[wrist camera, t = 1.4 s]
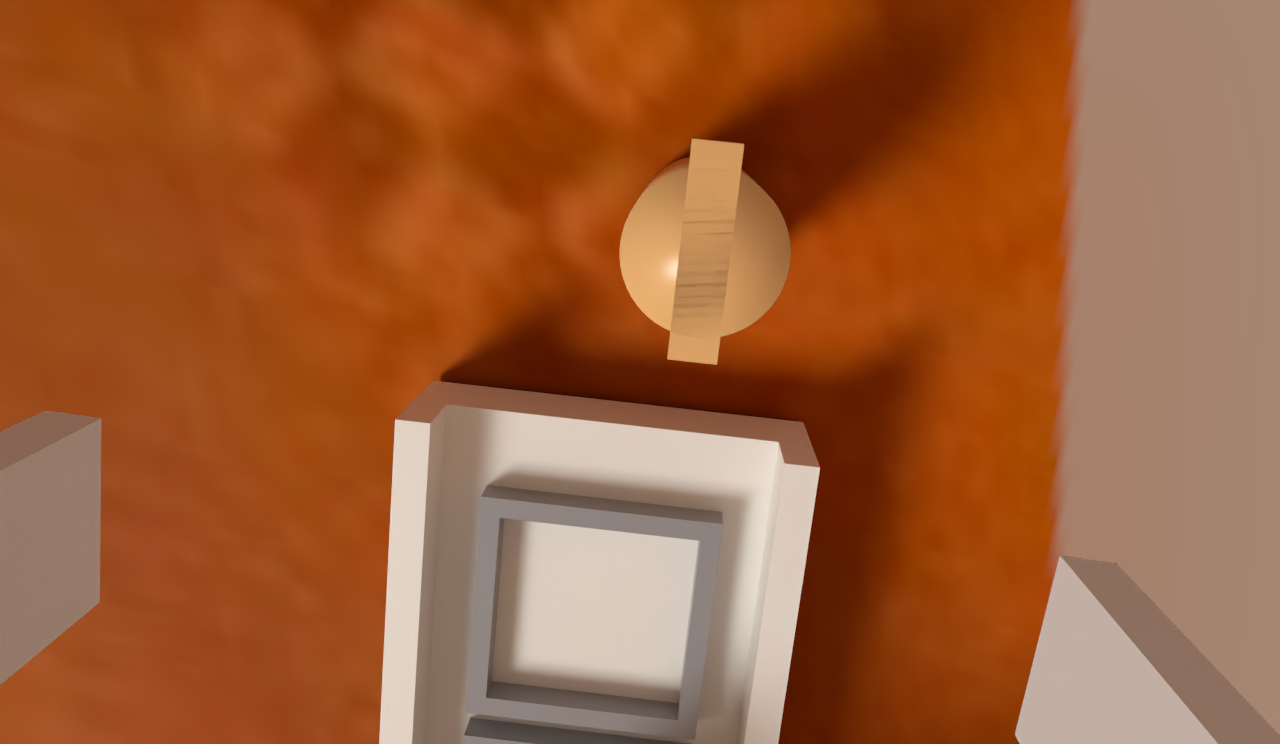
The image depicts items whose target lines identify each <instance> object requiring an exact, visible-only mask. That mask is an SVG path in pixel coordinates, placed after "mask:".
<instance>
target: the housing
mask: <svg viewBox="0 0 1280 744" xmlns="http://www.w3.org/2000/svg"><path fill="white" fill-rule="evenodd" d="M819 472H820V466H819V463H818V460H817V458H816V455H815V452H814V450H813V447H812V444H811V442H810V439H809V436H808V433H807V431H806V428H805V425H804V423H803V422H798V421H789V420H780V419H771V418H762V417H753V416H744V415H735V414H726V413H717V412H708V411H699V410H691V409H682V408H673V407H664V406H655V405H646V404H637V403H628V402H619V401H610V400H601V399H593V398H584V397H575V396H566V395H557V394H548V393H539V392H530V391H521V390H512V389H503V388H494V387H486V386H477V385H468V384H459V383H450V382H441V381H432V382H431V383H430V384H429V385H428V387H427V388H426V389H425V390H424V391H423V392H422V393H421V394H420V395H419V396H418V397H417V398H416V399H415V400H414V401H413V402H412V403H411V404H410V405H409V406H408V407H407V408H406V409H405V410H404V411H403V412H402V413H401V414H400V415H399V416H398V417H397V418H396V419H395V434H394V454H393V475H392V495H391V515H390V536H389V556H388V576H387V597H386V617H385V637H384V658H383V678H382V698H381V719H380V739H379V744H778V741H779V735H780V728H781V721H782V715H783V708H784V702H785V695H786V689H787V682H788V676H789V669H790V662H791V656H792V649H793V643H794V636H795V630H796V623H797V617H798V610H799V603H800V597H801V590H802V584H803V577H804V571H805V564H806V557H807V551H808V544H809V538H810V531H811V525H812V518H813V512H814V505H815V498H816V492H817V485H818V479H819Z"/></svg>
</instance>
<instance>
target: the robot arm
mask: <svg viewBox="0 0 1280 744" xmlns="http://www.w3.org/2000/svg"><path fill="white" fill-rule="evenodd" d="M100 500H101V418H95V417H88V416H81V415H74V414H67V413H60V412H53V411H44V412H41V413H39V414H37V415H35V416H33V417H31V418H29V419H26V420H24V421H22V422H20V423H18V424H16V425H13V426H11V427H9V428H7V429H5V430H3V431H1V432H0V685H1V684H2V683H3V682H4V681H5V680H7V679H8V678H9V677H10V676H11V675H13V674H14V673H15V672H16V671H17V670H19V669H20V668H21V667H22V666H23V665H25V664H26V663H27V662H28V661H29V660H31V659H32V658H33V657H34V656H35V655H37V654H38V653H39V652H40V651H41V650H43V649H44V648H45V647H46V646H47V645H49V644H50V643H51V642H52V641H53V640H55V639H56V638H57V637H58V636H60V635H61V634H62V633H63V632H64V631H66V630H67V629H68V628H69V627H70V626H72V625H73V624H74V623H75V622H76V621H78V620H79V619H80V618H81V617H82V616H84V615H85V614H86V613H87V612H88V611H90V610H91V609H92V608H93V607H94V606H96V605H97V604H98V603H99V602H100ZM1015 736H1016V738H1017V740H1018V742H1019V744H1280V735H1279V734H1278V733H1277V732H1276V731H1275V730H1274V729H1273V728H1272V727H1271V726H1270V725H1269V723H1268V722H1267V721H1266V720H1265V719H1264V718H1263V717H1262V716H1261V715H1260V714H1259V713H1258V712H1257V711H1256V710H1255V709H1254V708H1253V707H1252V706H1251V705H1250V704H1249V703H1248V701H1247V700H1246V699H1245V698H1244V697H1243V696H1242V695H1241V694H1240V693H1239V692H1238V691H1237V690H1236V689H1235V688H1234V687H1233V686H1232V685H1231V684H1230V682H1229V681H1228V680H1227V679H1226V678H1225V677H1224V676H1223V675H1222V674H1221V673H1220V672H1219V671H1218V670H1217V669H1216V668H1215V667H1214V666H1213V665H1212V664H1211V662H1210V661H1209V660H1207V658H1206V657H1205V656H1204V655H1203V654H1202V653H1201V652H1200V651H1199V650H1198V649H1197V648H1196V647H1195V646H1194V645H1193V643H1192V642H1191V641H1190V640H1189V639H1188V638H1187V637H1186V636H1185V635H1184V634H1183V633H1182V632H1181V631H1180V630H1179V629H1178V628H1177V627H1176V626H1175V625H1174V623H1173V622H1172V621H1171V620H1170V619H1169V618H1168V617H1167V616H1166V615H1165V614H1164V613H1163V612H1162V611H1161V610H1160V609H1159V608H1158V607H1157V606H1156V605H1155V603H1154V602H1153V601H1152V600H1151V599H1150V598H1149V597H1148V596H1147V595H1146V594H1145V593H1144V592H1143V591H1142V590H1141V589H1140V588H1139V587H1138V586H1137V585H1136V583H1135V582H1134V581H1133V580H1131V578H1130V577H1129V576H1128V575H1127V574H1126V573H1125V572H1124V571H1123V570H1122V569H1121V568H1120V567H1119V566H1118V564H1117V563H1110V562H1103V561H1096V560H1088V559H1082V558H1075V557H1068V556H1061V555H1060V557H1059V561H1058V565H1057V569H1056V573H1055V577H1054V581H1053V585H1052V589H1051V593H1050V597H1049V601H1048V605H1047V609H1046V613H1045V617H1044V621H1043V625H1042V629H1041V632H1040V636H1039V640H1038V644H1037V648H1036V652H1035V656H1034V660H1033V664H1032V668H1031V672H1030V676H1029V680H1028V684H1027V688H1026V692H1025V696H1024V700H1023V704H1022V708H1021V712H1020V716H1019V720H1018V724H1017V728H1016V732H1015Z"/></svg>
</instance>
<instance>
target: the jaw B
mask: <svg viewBox="0 0 1280 744" xmlns="http://www.w3.org/2000/svg"><path fill="white" fill-rule="evenodd" d="M743 151H744V144H743V143H736V142H726V141H717V140H708V139H698V138H692V141H691V150H690V157H686V158H682V159H680V160H677V161H675V162H673V163H671V164H669V165H667V166H666V167H664V168H663V169H662V170H660V171H659V172H658V173H657V174H656V175H655V176H654V177H653V178H652V179H651V181H650V182H649V183H648V185H647V186H646V188H645V190H644V191H643V193H642V194H641V196H640V197H639V199H638V201H637V202H636V204H635V205H634V207H633V209H632V210H631V212H630V214H629V216H628V218H627V220H626V222H625V225H624V228H623V232H622V236H621V242H620V266H621V271H622V275H623V279H624V282H625V285H626V287H627V289H628V291H629V293H630V295H631V297H632V299H633V300H634V301H635V303H636V304H637V306H638V307H639V308H640V309H641V310H642V311H643V312H644V314H645V315H646V316H648V317H649V318H650V319H651V320H652V321H654V322H655V323H657V324H658V325H660V326H661V327H663V328H665V329H667V330H669V331H670V337H669V346H668V356H667V359H669V360H678V361H687V362H696V363H705V364H714V365H717V360H718V352H719V344H720V337H721V336H725V335H729V334H732V333H735V332H738V331H740V330H742V329H744V328H746V327H748V326H749V325H751V324H752V323H754V322H755V321H757V320H758V319H759V318H760V317H761V316H763V315H764V314H765V313H766V312H767V311H768V309H769V308H770V307H771V306H772V305H773V304H774V302H775V301H776V299H777V298H778V296H779V294H780V292H781V290H782V288H783V286H784V284H785V281H786V278H787V275H788V271H789V266H790V256H791V249H790V239H789V233H788V229H787V226H786V223H785V220H784V218H783V216H782V214H781V212H780V210H779V208H778V207H777V205H776V204H775V203H774V201H773V200H772V199H771V197H770V196H769V195H768V194H767V193H766V192H765V191H764V190H763V189H762V188H761V187H760V186H759V185H758V184H757V183H756V182H755V181H754V180H753V179H752V178H751V177H750V176H749V175H748V174H747V173H745V172H744V171H743V170H742V169H741V167H742V159H743Z"/></svg>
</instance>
